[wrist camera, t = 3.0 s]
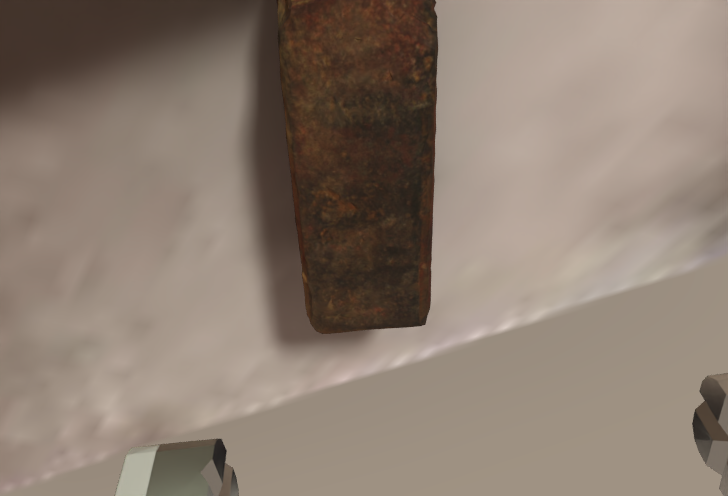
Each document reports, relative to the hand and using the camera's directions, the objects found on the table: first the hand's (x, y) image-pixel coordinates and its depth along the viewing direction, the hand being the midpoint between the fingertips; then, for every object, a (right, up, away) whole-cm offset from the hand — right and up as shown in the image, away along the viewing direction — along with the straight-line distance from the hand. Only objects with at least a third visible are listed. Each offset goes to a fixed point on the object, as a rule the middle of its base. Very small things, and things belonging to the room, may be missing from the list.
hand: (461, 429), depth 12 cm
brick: (-2, +7, +10) cm, 13 cm away
